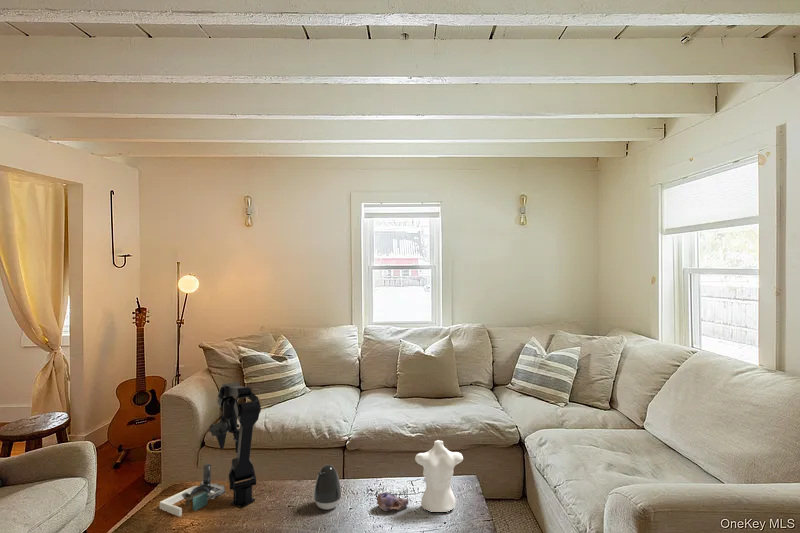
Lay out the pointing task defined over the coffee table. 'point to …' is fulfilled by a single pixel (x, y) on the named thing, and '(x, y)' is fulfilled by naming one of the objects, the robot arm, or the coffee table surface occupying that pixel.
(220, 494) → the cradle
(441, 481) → the torso sculpture
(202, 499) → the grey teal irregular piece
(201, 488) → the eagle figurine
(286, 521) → the coffee table surface
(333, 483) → the grey rounded egg shape
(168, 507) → the frame
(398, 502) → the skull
